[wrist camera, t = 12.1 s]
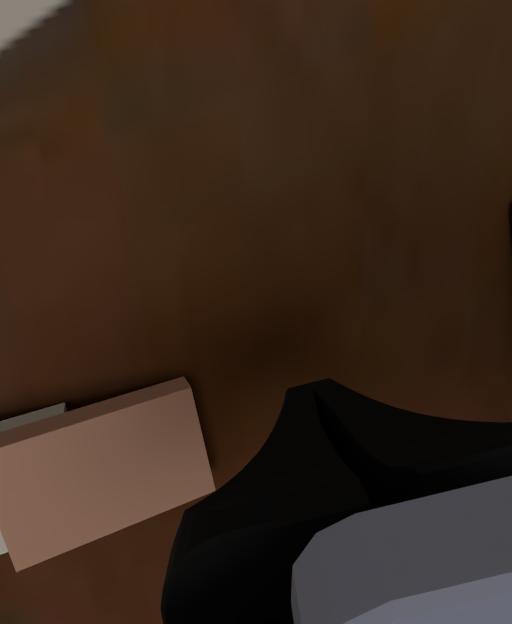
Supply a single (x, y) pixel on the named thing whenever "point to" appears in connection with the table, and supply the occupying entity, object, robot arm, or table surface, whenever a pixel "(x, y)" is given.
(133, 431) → the terracotta domino
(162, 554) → the table surface
